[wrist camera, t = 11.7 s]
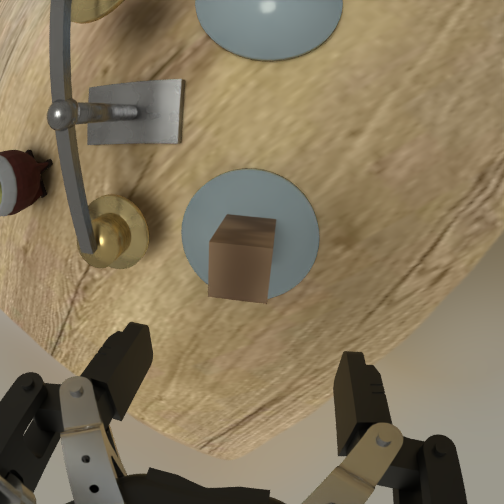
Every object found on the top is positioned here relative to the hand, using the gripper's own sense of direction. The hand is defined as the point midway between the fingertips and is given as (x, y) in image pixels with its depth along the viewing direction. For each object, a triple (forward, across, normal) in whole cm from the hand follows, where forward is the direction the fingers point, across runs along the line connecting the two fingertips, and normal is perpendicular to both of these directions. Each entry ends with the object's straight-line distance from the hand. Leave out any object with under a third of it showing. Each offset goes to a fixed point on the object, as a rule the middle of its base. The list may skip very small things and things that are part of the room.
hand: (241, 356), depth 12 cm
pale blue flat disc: (+19, +2, -21) cm, 28 cm away
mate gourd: (+18, +28, -4) cm, 34 cm away
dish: (+19, +2, +2) cm, 19 cm away
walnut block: (+18, +2, +2) cm, 18 cm away
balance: (+19, +14, -10) cm, 25 cm away
